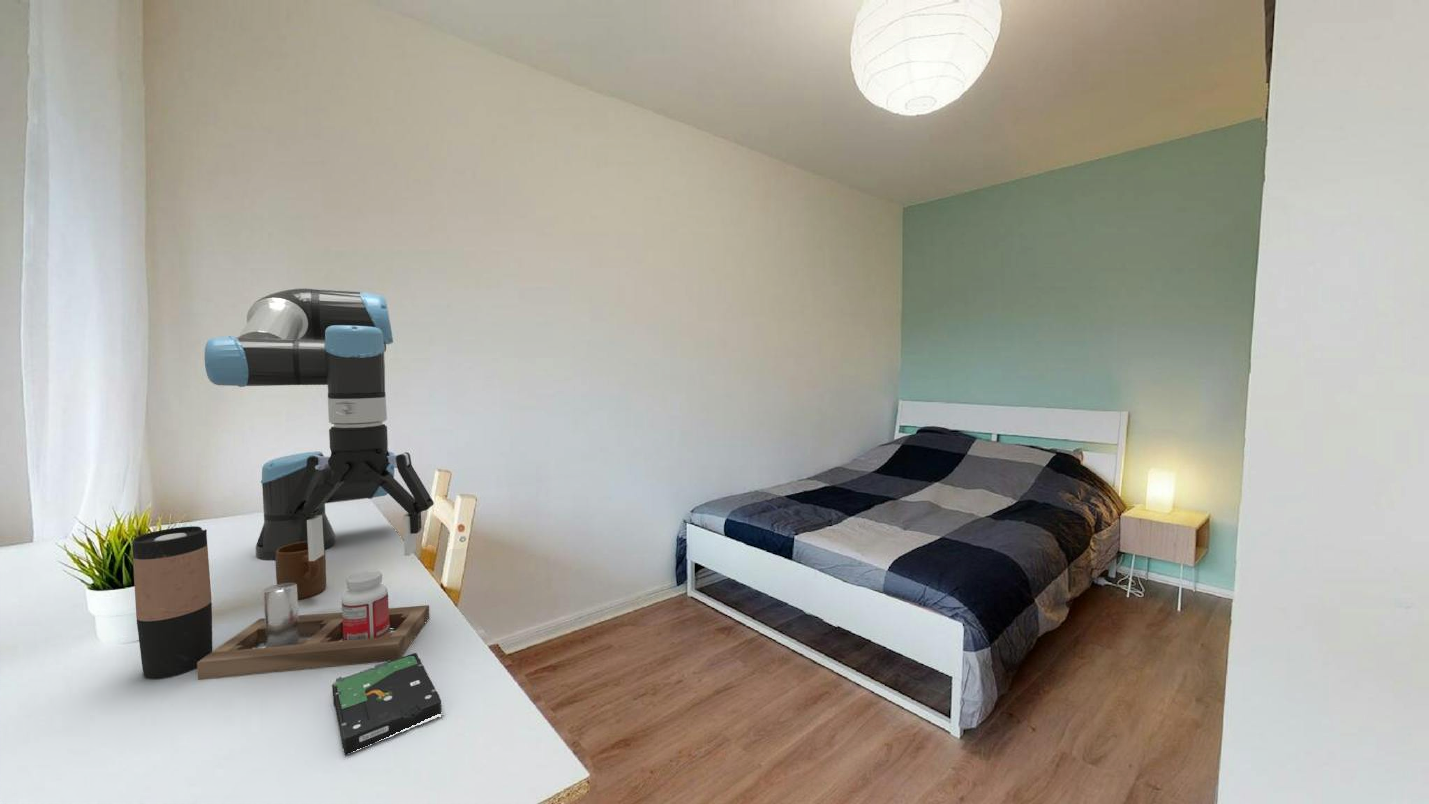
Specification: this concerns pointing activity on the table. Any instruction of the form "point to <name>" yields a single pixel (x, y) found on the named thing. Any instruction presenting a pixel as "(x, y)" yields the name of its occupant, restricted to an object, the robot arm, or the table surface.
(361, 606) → the pill bottle
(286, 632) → the steel peg
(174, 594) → the travel mug
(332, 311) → the robot arm
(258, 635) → the socket board
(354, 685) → the disk drive
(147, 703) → the table surface
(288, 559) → the mug
